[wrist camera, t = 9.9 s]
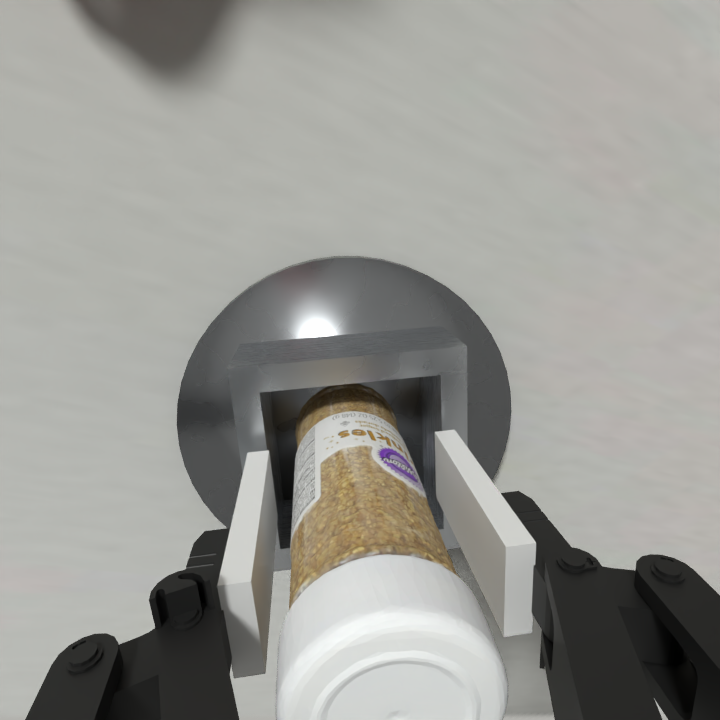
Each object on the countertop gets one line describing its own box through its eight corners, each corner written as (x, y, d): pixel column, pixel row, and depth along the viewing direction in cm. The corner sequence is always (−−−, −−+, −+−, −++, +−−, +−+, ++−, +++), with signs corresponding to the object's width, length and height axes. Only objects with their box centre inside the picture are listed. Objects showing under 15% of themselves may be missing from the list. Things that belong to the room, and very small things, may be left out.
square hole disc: (210, 572, 24) (189, 647, 20) (154, 270, 20) (112, 283, 16) (500, 535, 26) (539, 599, 21) (505, 243, 21) (555, 249, 17)
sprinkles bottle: (410, 399, 22) (559, 657, 9) (371, 485, 23) (453, 827, 10) (315, 364, 21) (328, 594, 8) (278, 455, 22) (237, 789, 9)
